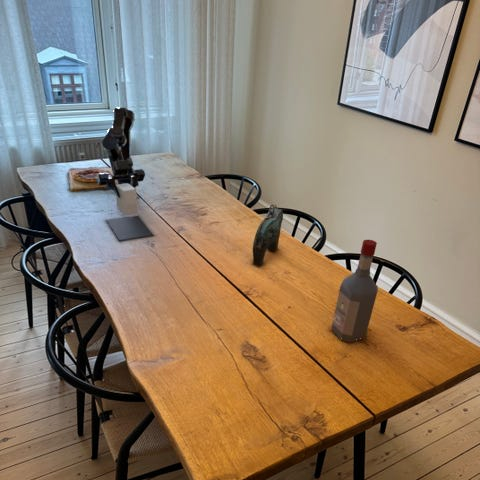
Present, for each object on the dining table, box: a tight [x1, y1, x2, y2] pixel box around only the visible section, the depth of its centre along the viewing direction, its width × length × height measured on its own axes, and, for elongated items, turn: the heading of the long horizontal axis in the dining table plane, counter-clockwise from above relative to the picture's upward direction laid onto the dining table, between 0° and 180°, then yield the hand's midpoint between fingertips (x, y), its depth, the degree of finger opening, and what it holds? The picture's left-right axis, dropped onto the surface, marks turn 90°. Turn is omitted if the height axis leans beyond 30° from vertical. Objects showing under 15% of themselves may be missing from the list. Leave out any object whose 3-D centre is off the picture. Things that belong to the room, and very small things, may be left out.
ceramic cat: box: [252, 204, 284, 267], centre depth 170 cm, size 20×6×20 cm, turn 154°
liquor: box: [330, 239, 379, 344], centre depth 128 cm, size 9×9×30 cm
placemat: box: [106, 215, 154, 242], centre depth 190 cm, size 22×14×1 cm, turn 27°
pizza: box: [67, 166, 118, 193], centre depth 237 cm, size 35×28×4 cm
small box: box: [115, 183, 138, 216], centre depth 185 cm, size 8×6×10 cm
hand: (126, 196), depth 184 cm, fingers closed on small box, 6 cm apart
